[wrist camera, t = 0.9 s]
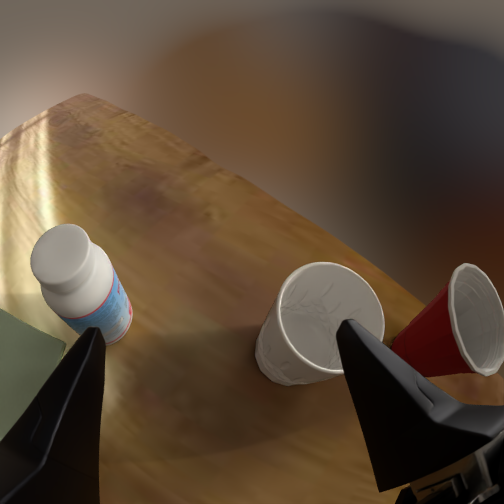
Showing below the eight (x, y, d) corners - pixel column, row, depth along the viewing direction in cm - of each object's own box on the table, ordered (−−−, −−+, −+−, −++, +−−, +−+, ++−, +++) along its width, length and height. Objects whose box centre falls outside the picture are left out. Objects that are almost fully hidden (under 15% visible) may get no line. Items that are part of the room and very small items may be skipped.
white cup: (230, 350, 24) (249, 310, 16) (285, 299, 28) (323, 243, 20) (291, 408, 22) (345, 399, 14) (340, 350, 26) (400, 313, 18)
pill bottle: (145, 310, 25) (119, 240, 16) (108, 359, 21) (54, 315, 12) (102, 277, 25) (66, 202, 16) (66, 321, 22) (9, 261, 13)
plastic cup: (405, 420, 22) (493, 399, 12) (356, 347, 26) (433, 298, 17) (449, 361, 27) (519, 325, 17) (407, 299, 31) (471, 246, 21)
